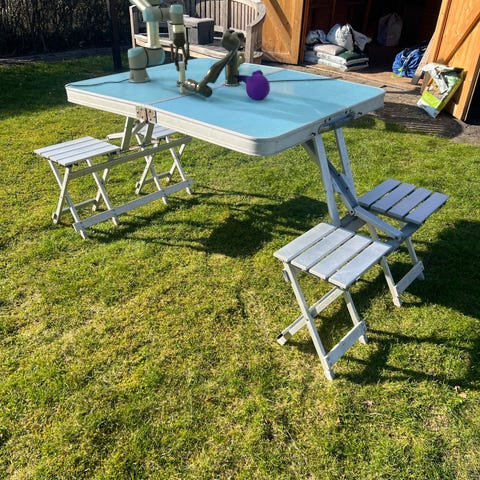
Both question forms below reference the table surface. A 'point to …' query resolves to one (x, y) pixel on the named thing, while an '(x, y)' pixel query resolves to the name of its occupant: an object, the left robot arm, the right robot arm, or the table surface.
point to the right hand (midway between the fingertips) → (180, 81)
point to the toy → (255, 85)
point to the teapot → (241, 59)
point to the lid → (181, 64)
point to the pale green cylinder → (182, 78)
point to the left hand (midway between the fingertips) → (181, 70)
